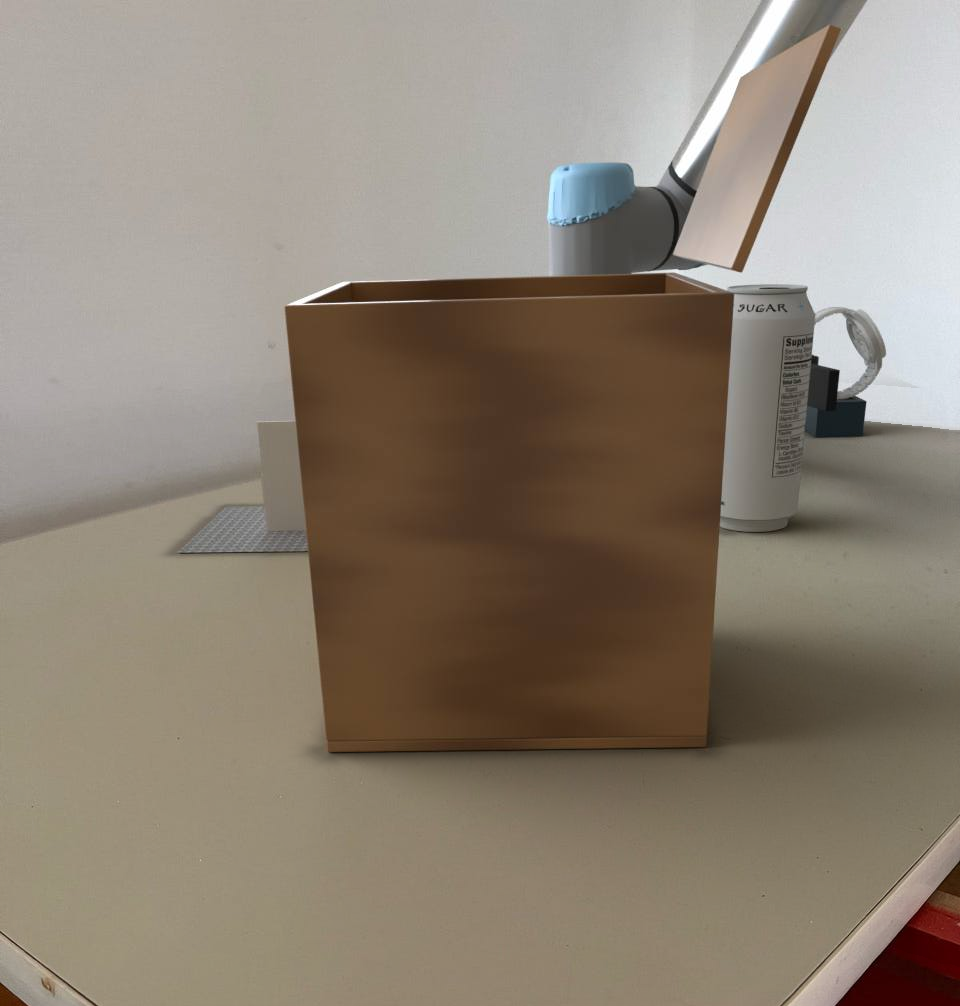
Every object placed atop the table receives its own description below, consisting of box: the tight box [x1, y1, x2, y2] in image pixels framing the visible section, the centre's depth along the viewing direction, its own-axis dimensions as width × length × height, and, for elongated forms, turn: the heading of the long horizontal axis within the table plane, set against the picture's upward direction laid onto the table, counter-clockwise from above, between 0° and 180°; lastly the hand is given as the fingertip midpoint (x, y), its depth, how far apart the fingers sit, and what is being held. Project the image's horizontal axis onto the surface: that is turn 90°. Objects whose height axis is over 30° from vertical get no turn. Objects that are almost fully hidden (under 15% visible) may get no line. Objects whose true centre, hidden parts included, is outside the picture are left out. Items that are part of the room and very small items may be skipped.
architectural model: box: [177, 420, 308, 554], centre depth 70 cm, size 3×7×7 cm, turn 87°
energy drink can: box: [720, 283, 816, 533], centre depth 66 cm, size 6×6×15 cm
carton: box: [283, 272, 734, 753], centre depth 43 cm, size 15×13×17 cm
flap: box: [673, 24, 841, 273], centre depth 38 cm, size 7×13×1 cm
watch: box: [805, 306, 887, 438], centre depth 94 cm, size 6×8×11 cm
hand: (740, 397), depth 68 cm, fingers open, 13 cm apart
